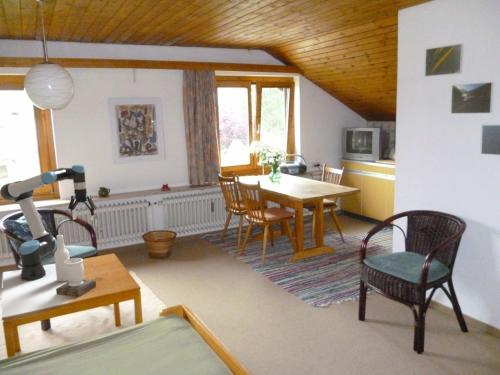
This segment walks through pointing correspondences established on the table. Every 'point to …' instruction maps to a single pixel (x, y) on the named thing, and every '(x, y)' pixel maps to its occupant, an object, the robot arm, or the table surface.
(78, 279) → the jar
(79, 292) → the plinth
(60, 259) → the alcohol
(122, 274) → the table surface
